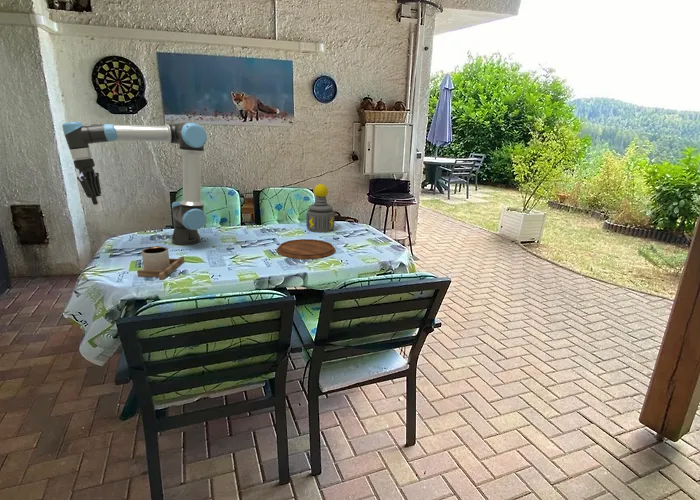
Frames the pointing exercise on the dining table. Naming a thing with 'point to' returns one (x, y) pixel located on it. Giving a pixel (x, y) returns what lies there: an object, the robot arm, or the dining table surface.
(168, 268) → the walnut frame
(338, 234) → the dining table surface
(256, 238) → the dining table surface
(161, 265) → the planter
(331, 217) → the decorative lamp
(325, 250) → the cutting board
